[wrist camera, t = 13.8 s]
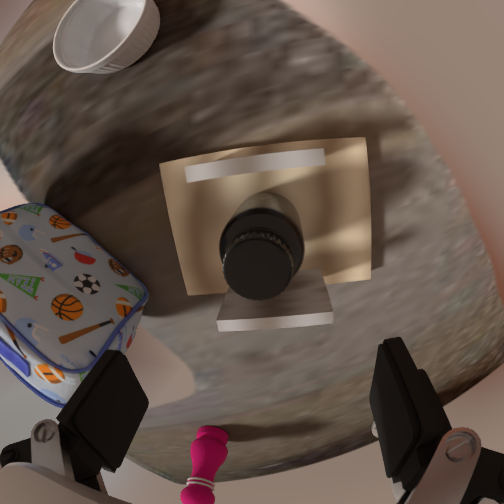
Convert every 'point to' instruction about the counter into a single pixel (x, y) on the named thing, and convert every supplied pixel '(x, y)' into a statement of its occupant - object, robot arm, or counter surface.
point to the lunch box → (60, 301)
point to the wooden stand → (309, 210)
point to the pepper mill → (205, 465)
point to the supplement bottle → (262, 246)
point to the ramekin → (105, 34)
